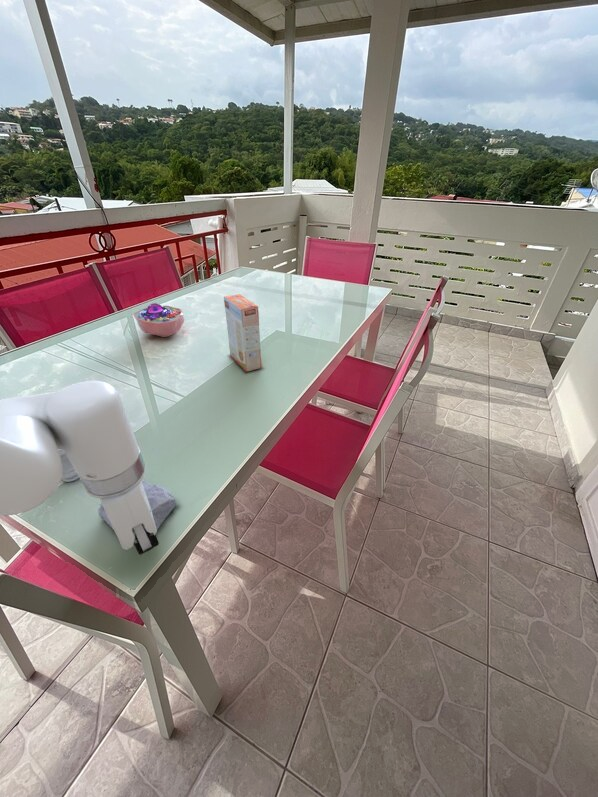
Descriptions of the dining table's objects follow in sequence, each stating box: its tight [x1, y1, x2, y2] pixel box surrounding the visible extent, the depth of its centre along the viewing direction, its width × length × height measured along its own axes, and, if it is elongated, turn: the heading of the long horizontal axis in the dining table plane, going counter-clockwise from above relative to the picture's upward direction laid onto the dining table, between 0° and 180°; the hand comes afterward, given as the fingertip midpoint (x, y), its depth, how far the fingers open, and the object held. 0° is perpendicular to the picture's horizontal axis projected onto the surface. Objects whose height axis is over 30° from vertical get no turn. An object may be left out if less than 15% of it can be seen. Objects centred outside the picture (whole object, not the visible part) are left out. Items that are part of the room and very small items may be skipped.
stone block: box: [97, 479, 177, 530], centre depth 61 cm, size 12×5×10 cm
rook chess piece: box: [58, 449, 80, 483], centre depth 67 cm, size 4×4×8 cm
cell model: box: [133, 302, 185, 338], centre depth 126 cm, size 17×20×11 cm
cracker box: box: [223, 293, 262, 373], centre depth 105 cm, size 14×6×21 cm, turn 31°
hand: (148, 545), depth 55 cm, fingers closed
